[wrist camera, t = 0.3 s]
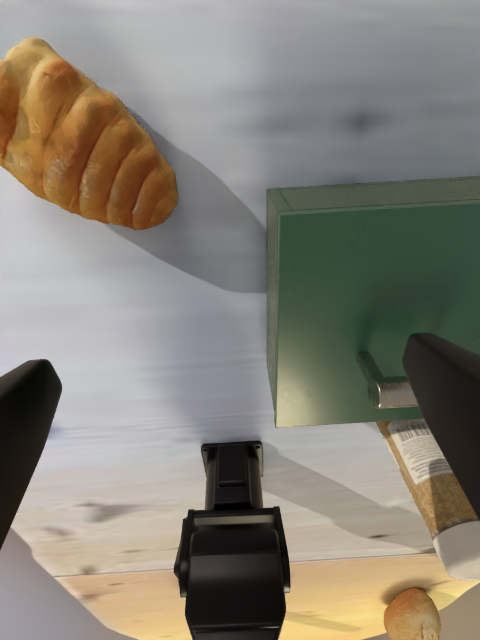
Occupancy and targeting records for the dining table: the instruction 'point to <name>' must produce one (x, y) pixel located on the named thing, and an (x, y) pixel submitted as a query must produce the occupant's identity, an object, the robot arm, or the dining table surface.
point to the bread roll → (412, 617)
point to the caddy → (346, 199)
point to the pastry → (78, 142)
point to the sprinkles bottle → (436, 495)
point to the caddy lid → (369, 305)
